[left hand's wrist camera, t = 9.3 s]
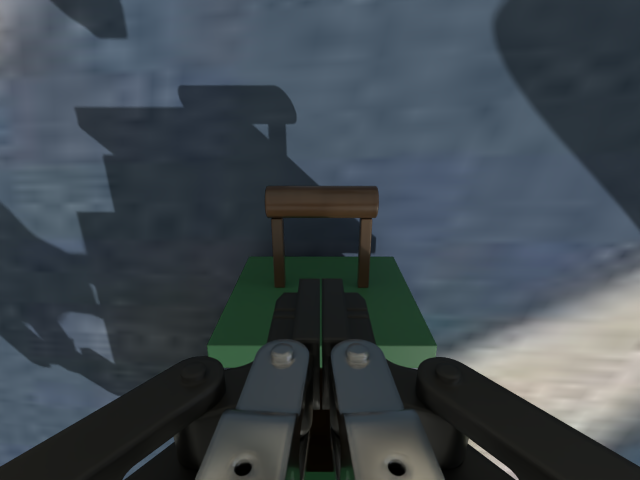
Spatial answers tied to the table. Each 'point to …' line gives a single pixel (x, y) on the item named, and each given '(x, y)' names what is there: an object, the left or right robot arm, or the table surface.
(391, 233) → the table surface
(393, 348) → the drawer
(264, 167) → the table surface
